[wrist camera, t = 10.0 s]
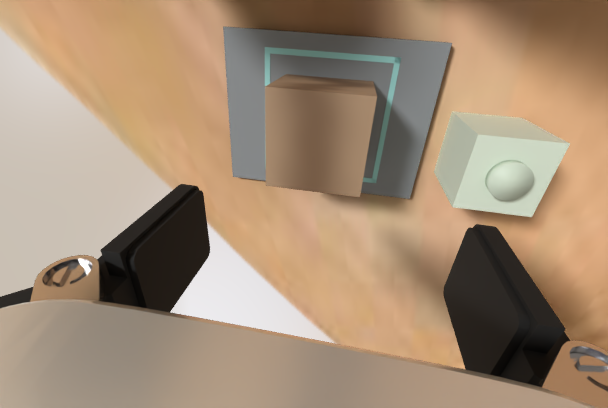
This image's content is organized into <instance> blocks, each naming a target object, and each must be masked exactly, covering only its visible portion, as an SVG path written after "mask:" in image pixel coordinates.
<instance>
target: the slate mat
mask: <svg viewBox="0 0 608 408" xmlns="http://www.w3.org/2000/svg"><path fill="white" fill-rule="evenodd" d="M223 30H224V46H225V61H226V77H227V92H228V108H229V123H230V139H231V154H232V170H233V177H240V178H248V179H256V180H264V181H266V153H265V86H267V85H269V84H270V83H272V82H274V81H275V80H277V79H279V78H280V77H282V76H284V75H286V74H292V75H304V76H316V77H328V78H340V79H352V80H364V81H373V83H374V86H375V90H376V94H377V101H376V106H375V112H374V118H373V124H372V130H371V136H370V141H369V147H368V153H367V159H366V165H365V171H364V176H363V182H362V188H361V193H367V194H375V195H383V196H390V197H398V198H406V199H410V196H411V192H412V189H413V185H414V181H415V178H416V174H417V170H418V167H419V163H420V159H421V156H422V152H423V148H424V144H425V141H426V137H427V133H428V130H429V126H430V122H431V119H432V115H433V111H434V108H435V104H436V100H437V97H438V93H439V89H440V85H441V82H442V78H443V74H444V71H445V67H446V63H447V60H448V56H449V52H450V49H451V45H452V43H447V42H433V41H419V40H405V39H391V38H377V37H363V36H349V35H335V34H321V33H307V32H293V31H279V30H265V29H251V28H237V27H223Z"/></svg>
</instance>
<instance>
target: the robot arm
mask: <svg viewBox="0 0 608 408" xmlns="http://www.w3.org/2000/svg"><path fill="white" fill-rule="evenodd" d="M209 245H210V244H209V236H208V228H207V220H206V212H205V204H204V196H203V192H202V191H200V190H199V188H198V187H197V186H192V185H185V184H180V185H179V186H178V187H176V188H175V189H174V190H173V191H171V192H170V193H169V194H168V195H167V196H165V197H164V198H163V199H162V200H161V201H159V202H158V203H157V204H156V205H154V206H153V207H152V208H151V209H150V210H148V211H147V212H146V213H145V214H144V215H142V216H141V217H140V218H139V219H137V220H136V221H135V222H134V223H133V224H131V225H130V226H129V227H128V228H127V229H125V230H124V231H123V232H122V233H120V234H119V235H118V236H117V237H116V238H114V239H113V240H112V241H111V242H110V243H108V244H107V245H106V246H105V247H104V248H102V249H101V252H102V256H101V257H100V258H99V259H95V258H94V257H92V256H88V255H78V256H71V257H67V258H64V259H61V260H59V261H56V262H54V263H52V264H50V265H49V266H47V267H46V268H45V269H43V270H42V271H41V272H40V273H39V274H38V276H37V278H36V280H35V283H34V287H31V288H28V289H25V290H21V291H18V292H15V293H11V294H8V295H5V296H2V297H0V408H608V351H606V350H604V349H602V348H600V347H598V346H596V345H593V344H590V343H587V342H584V341H576V340H573V341H570V340H569V338H568V337H567V335H566V334H565V332H564V330H565V328H564V326H563V325H562V323H561V322H560V320H559V319H558V317H557V316H556V314H555V313H554V311H553V310H552V308H551V307H550V305H549V304H548V302H547V301H546V299H545V298H544V296H543V295H542V294H541V292H540V291H539V289H538V288H537V286H536V285H535V283H534V282H533V280H532V279H531V277H530V276H529V274H528V273H527V271H526V270H525V268H524V267H523V265H522V264H521V262H520V261H519V260H518V258H517V257H516V255H515V254H514V252H513V251H512V249H511V248H510V246H509V245H508V243H507V242H506V240H505V239H504V237H503V236H502V234H501V233H500V231H499V230H498V229H497V228H496V227H493V226H486V225H479V224H476V225H475V226H474V227H473V228H468V229H467V231H466V233H465V236H464V238H463V241H462V244H461V246H460V249H459V251H458V254H457V256H456V259H455V261H454V264H453V266H452V269H451V271H450V274H449V276H448V279H447V281H446V284H445V286H444V298H445V302H446V305H447V308H448V312H449V315H450V318H451V322H452V325H453V328H454V332H455V335H456V338H457V342H458V345H459V348H460V352H461V355H462V358H463V362H464V365H465V368H466V370H465V369H460V368H455V367H450V366H446V365H441V364H436V363H431V362H426V361H421V360H416V359H411V358H406V357H401V356H396V355H391V354H385V353H380V352H375V351H370V350H365V349H360V348H355V347H350V346H345V345H340V344H334V343H329V342H324V341H319V340H314V339H308V338H303V337H298V336H293V335H287V334H282V333H277V332H272V331H267V330H261V329H256V328H251V327H245V326H240V325H235V324H229V323H224V322H219V321H213V320H208V319H202V318H197V317H192V316H186V315H181V314H175V313H170V311H171V310H172V308H173V307H174V305H175V304H176V303H177V301H178V300H179V298H180V297H181V295H182V294H183V292H184V291H185V290H186V288H187V286H188V285H189V284H190V282H191V281H192V279H193V278H194V277H195V275H196V274H197V272H198V271H199V270H200V268H201V267H202V265H203V264H204V262H205V261H206V259H207V258H208V256H209V253H210V246H209Z"/></svg>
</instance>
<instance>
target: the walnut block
mask: <svg viewBox="0 0 608 408" xmlns="http://www.w3.org/2000/svg"><path fill="white" fill-rule="evenodd" d="M376 101H377V94H376V90H375V86H374V83H373V81H364V80H352V79H340V78H328V77H316V76H304V75H292V74H286V75H284V76H282V77H280V78H279V79H277V80H275V81H274V82H272V83H270V84H269V85H267V86H265V153H266V186H273V187H281V188H289V189H297V190H305V191H313V192H321V193H329V194H337V195H345V196H353V197H360V194H361V188H362V182H363V176H364V171H365V165H366V159H367V153H368V147H369V141H370V136H371V130H372V124H373V118H374V112H375V106H376Z"/></svg>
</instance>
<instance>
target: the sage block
mask: <svg viewBox="0 0 608 408" xmlns="http://www.w3.org/2000/svg"><path fill="white" fill-rule="evenodd" d="M569 145H570V143H568V142H566V141H564V140H562V139H560V138H559V137H557V136H555V135H553V134H551V133H549V132H547V131H546V130H544V129H542V128H540V127H538V126H536V125H535V124H533V123H531V122H529V121H527V120H525V119H523V118H518V117H508V116H497V115H486V114H475V113H465V112H454V111H452V113H451V117H450V120H449V123H448V127H447V130H446V133H445V137H444V140H443V143H442V147H441V150H440V153H439V157H438V160H437V163H436V167H435V170H434V173H435V175H436V177H437V179H438V180H439V182H440V184H441V186H442V188H443V190H444V192H445V194H446V196H447V198H448V200H449V202H450V204H451V205H452V207H455V208H463V209H471V210H479V211H487V212H495V213H503V214H511V215H518V216H526V217H532V216H533V214H534V212H535V210H536V208H537V206H538V204H539V202H540V200H541V198H542V197H543V195H544V193H545V191H546V189H547V187H548V185H549V183H550V181H551V179H552V177H553V175H554V174H555V172H556V170H557V168H558V166H559V164H560V162H561V160H562V158H563V156H564V154H565V152H566V151H567V149H568V147H569Z"/></svg>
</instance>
